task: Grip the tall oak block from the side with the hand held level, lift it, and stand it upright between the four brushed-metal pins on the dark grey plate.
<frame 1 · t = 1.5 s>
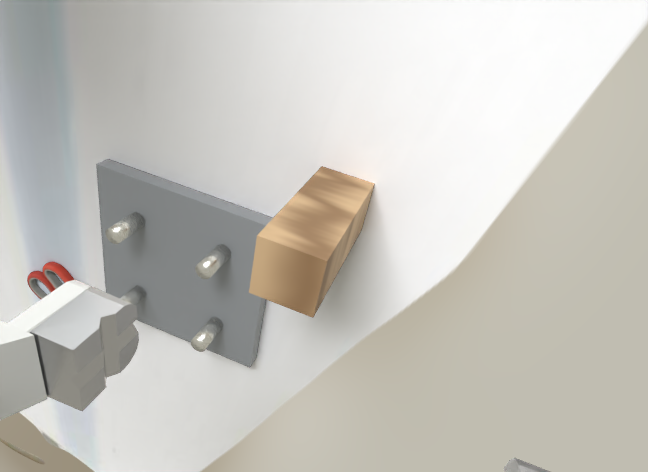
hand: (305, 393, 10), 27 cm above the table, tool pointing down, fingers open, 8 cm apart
standoff pins: (168, 282, 45), on the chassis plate, point 3 cm above the table
scissors: (89, 329, 60), on the table
oak block: (341, 199, 39), on the table
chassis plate: (187, 265, 48), on the table
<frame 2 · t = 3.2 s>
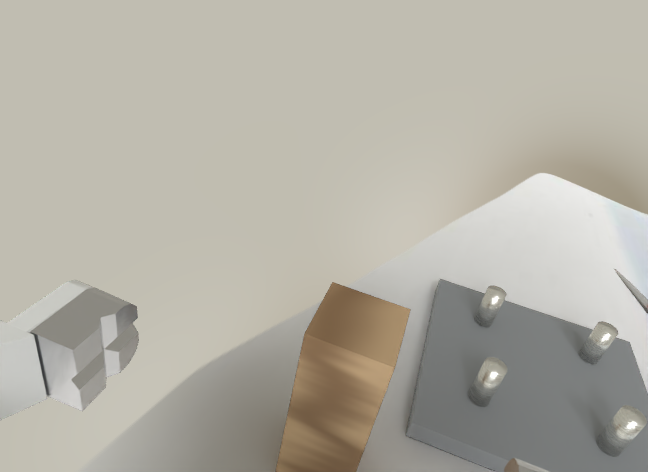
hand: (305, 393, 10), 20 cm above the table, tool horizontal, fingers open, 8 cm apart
standoff pins: (546, 361, 37), on the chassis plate, point 3 cm above the table
oak block: (320, 456, 30), on the table
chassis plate: (529, 388, 38), on the table
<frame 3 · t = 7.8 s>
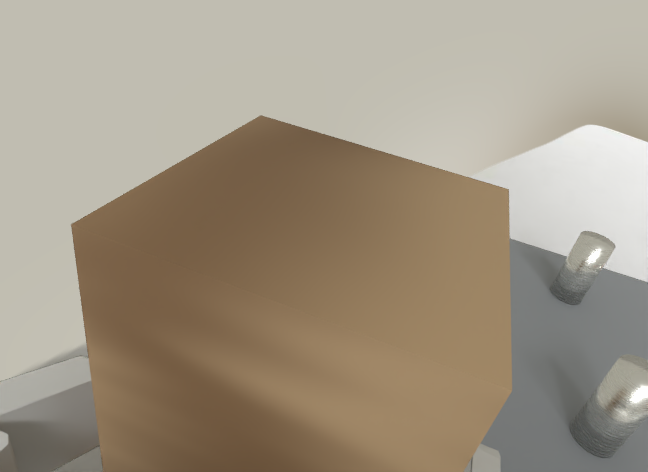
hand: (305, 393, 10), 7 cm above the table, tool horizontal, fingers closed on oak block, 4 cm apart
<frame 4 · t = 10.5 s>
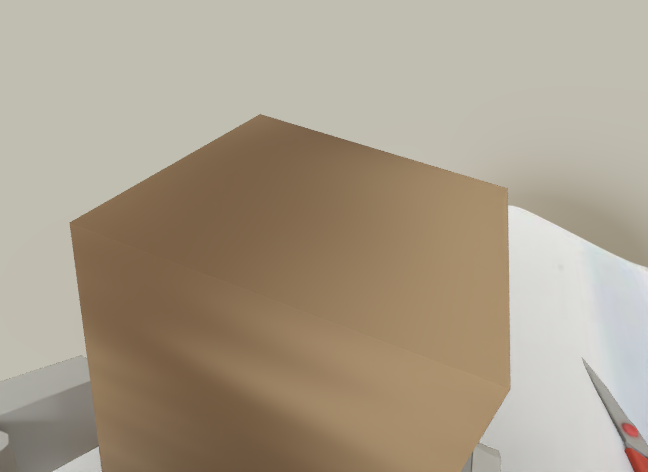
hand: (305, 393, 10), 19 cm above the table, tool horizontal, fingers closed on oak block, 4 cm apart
scissors: (624, 454, 34), on the table
when the fingers open (10 cm above the table, at t = 13.7 s): oak block drops 1 cm, resting on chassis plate.
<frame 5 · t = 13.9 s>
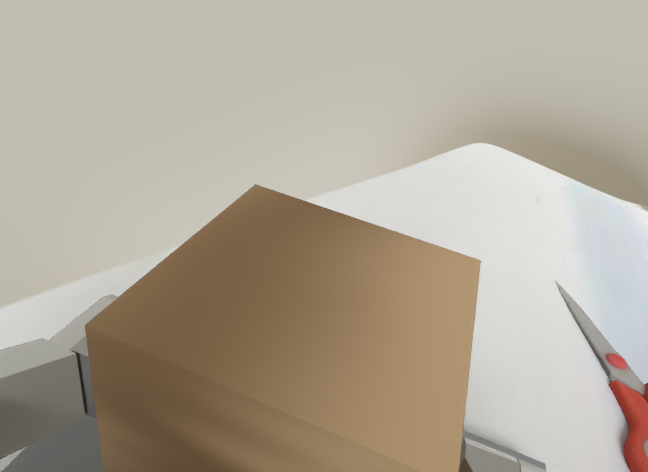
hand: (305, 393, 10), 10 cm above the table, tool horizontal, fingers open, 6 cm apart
scissors: (609, 390, 27), on the table
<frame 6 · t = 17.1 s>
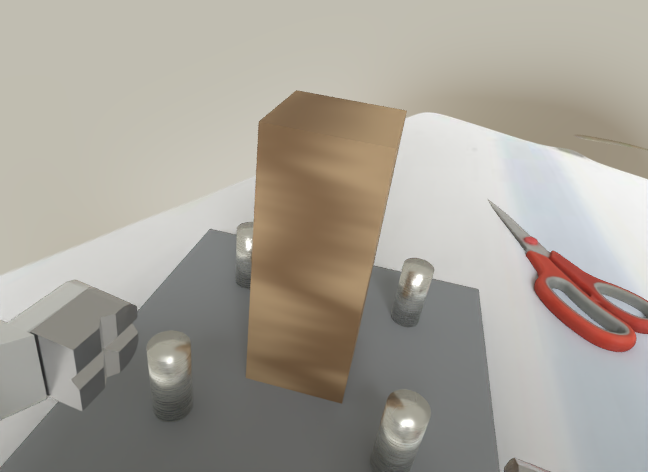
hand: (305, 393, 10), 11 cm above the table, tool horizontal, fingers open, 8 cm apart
standoff pins: (309, 328, 22), on the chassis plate, point 3 cm above the table
scissors: (527, 260, 37), on the table
oak block: (305, 355, 23), point 1 cm above the table, touching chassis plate
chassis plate: (302, 376, 24), on the table
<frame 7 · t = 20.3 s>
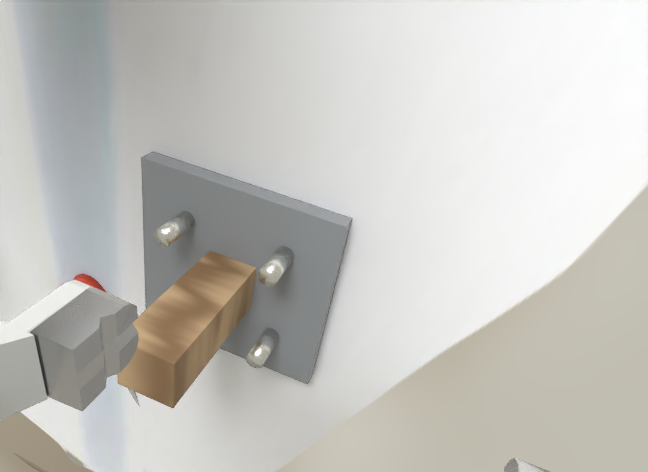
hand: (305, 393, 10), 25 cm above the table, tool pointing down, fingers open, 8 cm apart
standoff pins: (220, 290, 40), on the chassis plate, point 3 cm above the table
oak block: (230, 279, 42), point 1 cm above the table, touching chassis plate
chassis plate: (238, 270, 43), on the table
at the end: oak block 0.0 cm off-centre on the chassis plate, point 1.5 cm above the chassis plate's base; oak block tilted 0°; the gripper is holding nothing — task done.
